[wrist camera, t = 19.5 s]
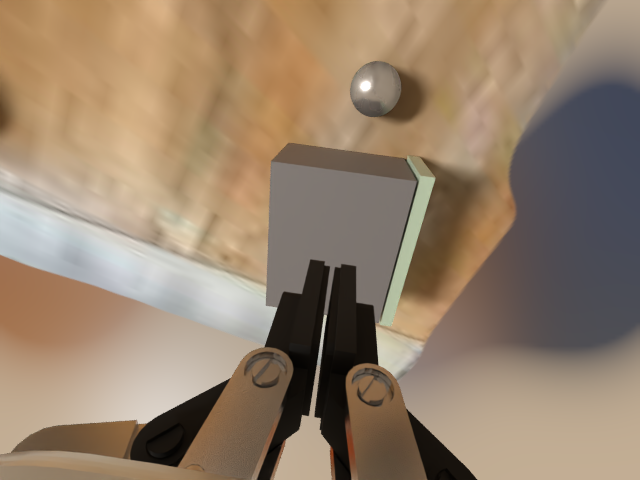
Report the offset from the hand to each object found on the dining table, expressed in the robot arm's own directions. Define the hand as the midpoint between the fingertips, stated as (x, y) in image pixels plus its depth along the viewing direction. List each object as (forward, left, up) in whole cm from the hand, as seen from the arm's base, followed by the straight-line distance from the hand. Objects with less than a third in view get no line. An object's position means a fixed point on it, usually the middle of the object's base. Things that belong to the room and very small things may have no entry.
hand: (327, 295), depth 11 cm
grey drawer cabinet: (+10, 0, -29) cm, 31 cm away
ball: (-6, +2, -29) cm, 30 cm away
